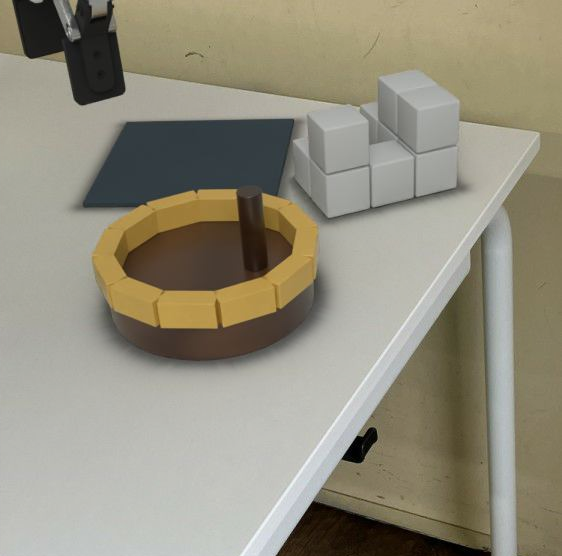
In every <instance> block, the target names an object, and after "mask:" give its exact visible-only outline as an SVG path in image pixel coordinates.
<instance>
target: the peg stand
mask: <svg viewBox="0 0 562 556" xmlns="http://www.w3.org/2000/svg"><path fill="white" fill-rule="evenodd" d="M236 198H237V207H238V217H239V221H201V222H197V223H193V224H190V225H186V226H182V227H179V228H175V229H171V230H168V231H164V232H160V233H158V234H156V235H155V236H153V237H152V238H150V239H149V240H147V241H146V242H144V243H143V244H141V245H140V246H138V247H137V248H135V249H134V250H132V251H131V252H129V253H128V255H127V258H126V260H125V262H124V265H123V267H122V269H123V271H124V272H125V274H126V275H127V277H129V278H132V279H135V280H137V281H140V282H143V283H145V284H148V285H151V286H153V287H156V288H159V289H161V290H164V291H216V290H220V289H223V288H226V287H230V286H233V285H237V284H240V283H243V282H247V281H250V280H254V279H257V278H261V277H263V276H265V275H266V274H267V273H268V272H270V271H271V270H272V269H274V268H275V267H276V266H277V265H279V264H280V263H281V262H283V261H284V260H285V259H286V258H288V257H289V256H290V255H292V250H293V246H292V245H291V244H290V243H289V242H288V241H287V240H286V239H285V238H284V237H283V235H282V234H281V233H280V232H278V231H274V230H271V229H268V228H265V220H264V209H263V197H262V189H261V188H260V187H258V186H254V185H247V186H243V187H240V188H239V189H237V191H236ZM314 300H315V279H313V283H312V284H311V285H309V286H308V287H307V288H306V289H305V290H303V291H302V292H301V293H300V294H298V295H297V296H296V297H295V298H294V299H292V300H291V301H290V302H289V303H288V304H286V305H285V306H284V307H283V308H282V309H280V308H277V307H276V312H273V313H270V314H267V315H263V316H260V317H257V318H254V319H250V320H247V321H244V322H241V323H237V324H234V325H231V326H227V327H224V328H223V326H222V325H221V324H220V322H219V325H218V328H217V329H211V328H161V326H160V324H159V325H158V326H157V327H154V326H152V325H149V324H147V323H144V322H142V321H139V320H137V319H134V318H131V317H129V316H126V315H124V314H121V313H119V312H116V311H114V308H111V307H110V306H109V308H110V312H111V317H112V321H113V324H114V326H115V328H116V329H117V331H118V333H119V334H120V335H121V336H122V337H123V338H124V339H125V340H126V341H127V342H128V343H130V344H132V345H133V346H135V347H136V348H139V349H141V350H143V351H145V352H148V353H150V354H152V355H153V354H154V355H156V356H160V357H164V358H169V359H176V360H184V361H185V360H186V361H210V360H212V361H213V360H221V359H228V358H233V357H238V356H242V355H246V354H250V353H252V352H255V351H259V350H260V349H263V348H266V347H268V346H270V345H273V344H274V343H277V342H278V341H280V340H282V339H284V338H285V337H287V336H288V335H290V334H291V333H292V332H293V331H295V330H296V329H297V328H298V327H299V326H300V325H302V323H304V321H305V319H306V318H307V317H308V315H309V314H310V312H311V309H312V308H313V304H314Z"/></svg>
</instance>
